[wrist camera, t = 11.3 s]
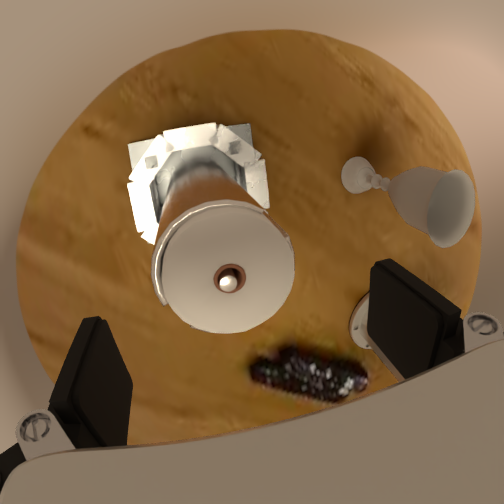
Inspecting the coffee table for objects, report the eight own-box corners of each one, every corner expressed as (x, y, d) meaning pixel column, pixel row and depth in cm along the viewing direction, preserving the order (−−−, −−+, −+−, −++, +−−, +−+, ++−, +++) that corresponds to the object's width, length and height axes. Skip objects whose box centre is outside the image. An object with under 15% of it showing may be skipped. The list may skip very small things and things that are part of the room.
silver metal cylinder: (163, 164, 34) (125, 232, 11) (219, 149, 35) (291, 187, 12) (178, 217, 37) (177, 361, 14) (231, 203, 37) (311, 322, 15)
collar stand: (248, 119, 35) (264, 116, 28) (260, 223, 40) (278, 245, 33) (128, 139, 33) (114, 142, 26) (149, 244, 38) (143, 271, 31)
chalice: (340, 143, 38) (437, 161, 22) (382, 154, 40) (481, 178, 24) (330, 197, 41) (417, 245, 25) (372, 204, 43) (463, 250, 26)
